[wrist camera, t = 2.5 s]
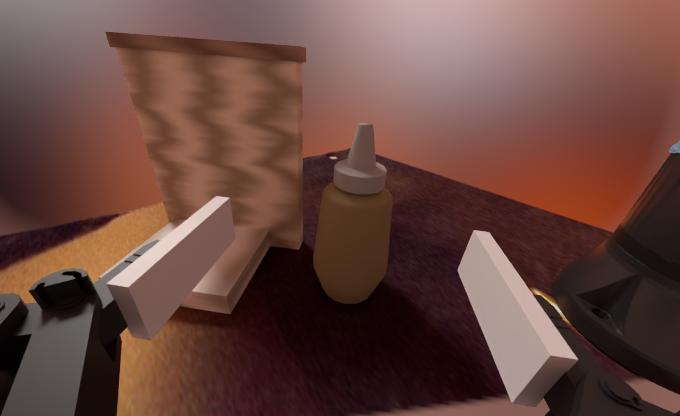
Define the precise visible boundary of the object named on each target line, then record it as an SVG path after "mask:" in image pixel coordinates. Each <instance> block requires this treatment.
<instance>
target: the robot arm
mask: <svg viewBox="0 0 680 416" xmlns="http://www.w3.org/2000/svg"><path fill="white" fill-rule="evenodd" d="M669 152H671V154H670V156H669V157H668V158H667V160H666V161H665V163H664V164H663V166H662V167H661V168H660V170H659V171H658V172H657V174H656V175H655V177H654V178H653V179H652V181H651V182H650V184H649V185H648V186H647V188H646V189H645V190H644V192H643V193H642V195H641V196H640V197H639V199H638V200H637V201H636V203H635V204H634V205H633V207H632V208H631V209H630V211H629V212H628V214H627V215H626V216H625V217H624V219H623V220H622V222H621V223H620V225H619V226H618V228H617V229H616V230H615V232H614V233H613V234H612V235H611V237H610V238H609V239H608V240H606V241H605V242H603V243H601V244H600V245H598V246H597V247H595V248H594V249H592V250H591V251H589V252H588V253H586V254H584V255H583V256H581V257H580V258H578V259H577V260H575V261H574V262H572V263H571V264H569V265H568V266H566V267H565V268H564V269H563V270H562V272H561V273H560V275H559V276H558V278H557V279H556V281H555V282H554V284H553V296H554V299H555V301H556V303H557V305H558V307H559V308H560V310H561V311H562V313H563V314H564V315H565V317H566V318H567V319H568V320H569V321H570V322H571V324H572V325H573V326H574V327H575V328H576V329H577V330H578V331H579V332H580V333H581V334H583V335H584V336H585V337H586V338H587V339H588V340H589V341H591V342H592V343H593V344H594V345H595V346H597V347H598V348H599V349H601V350H602V351H603V352H605V353H606V354H607V355H609V356H610V357H612V358H613V359H614V360H616V361H617V362H619V363H620V364H622V365H624V366H625V367H627V368H628V369H630V370H632V371H633V372H635V373H637V374H639V375H640V376H642V377H644V378H646V379H648V380H649V381H651V382H653V383H655V384H657V385H659V386H662V387H664V388H666V389H668V390H670V391H672V392H675V393H678V394H680V141H679V142H678V144H676V145H674V146H672V147H671V148H670V150H669ZM234 240H235V232H234V225H233V217H232V210H231V203H230V198H228V197H220V196H216V197H215V198H213V199H212V200H211V201H210V202H208V203H207V204H206V205H204V206H203V207H202V208H201V209H199V210H198V211H197V212H196V213H194V214H193V215H192V216H191V217H189V218H188V219H187V220H186V221H184V222H183V223H182V224H181V225H179V226H178V227H177V228H176V229H174V230H173V231H172V232H171V233H169V234H168V235H167V236H166V237H164V238H163V239H162V240H155V241H153V242H151V243H149V244H146V245H144V246H143V247H141V248H140V249H139V250H137V251H136V252H135V253H133V255H131V256H129V257H128V258H127V259H125V260H124V262H121V263H120V264H119V265H118V266H116V267H115V268H114V269H112V270H111V271H110V272H108V273H107V274H106V275H104V276H103V277H102V278H100V279H99V280H98V281H96V282H95V283H94V284H93V283H92V281H91V279H90V277H89V276H88V274H87V272H86V271H85V270H83V269H76V268H73V269H66V270H62V271H59V272H55V273H52V274H50V275H48V276H46V277H44V278H42V279H41V280H39V281H38V282H36V283H35V284H33V286H32V287H31V288H30V289H29V292H30V293H31V295H32V296H33V298H34V299H35V301H36V302H37V303H29V304H25V303H24V302H23V300H22V299H21V298H20V296H19V295H16V294H13V293H12V294H1V295H0V416H117V403H118V389H119V374H120V360H121V345H122V340H121V337H120V334H121V333H122V332H123V331H124V330H125V329H126V328H127V327H128V329H129V331H130V333H131V335H132V337H135V338H141V339H147V340H152V339H153V338H154V336H155V335H156V334H157V333H158V332H159V330H160V329H161V328H162V327H163V326H164V324H165V323H166V322H167V321H168V319H169V318H170V317H171V316H172V315H173V313H174V312H175V311H176V310H177V309H178V307H179V306H180V305H181V304H182V303H183V301H184V300H185V299H186V298H187V297H188V295H189V294H190V293H191V292H192V290H193V289H194V288H195V287H196V286H197V284H198V283H199V282H200V281H201V280H202V278H203V277H204V276H205V275H206V274H207V272H208V271H209V270H210V269H211V268H212V266H213V265H214V264H215V263H216V261H217V260H218V259H219V258H220V257H221V255H222V254H223V253H224V252H225V251H226V249H227V248H228V247H229V246H230V245H231V243H232V242H233V241H234ZM458 273H459V275H460V278H461V280H462V283H463V285H464V288H465V290H466V292H467V295H468V297H469V300H470V302H471V305H472V307H473V309H474V312H475V314H476V317H477V319H478V322H479V324H480V326H481V329H482V331H483V334H484V336H485V339H486V341H487V344H488V346H489V348H490V351H491V353H492V356H493V358H494V361H495V363H496V365H497V368H498V370H499V373H500V375H501V378H502V380H503V382H504V385H505V387H506V390H507V392H508V395H509V397H510V399H511V402H512V403H514V404H520V405H525V406H531V407H536V406H537V405H538V404H539V403H540V401H541V400H542V399H543V398H544V399H545V401H546V403H547V405H548V406H549V408H550V411H549V412H548V413H547V414H546V415H545V416H680V411H678V412H677V413H672V412H670V411H668V410H665V409H663V408H660V407H658V406H655V405H653V404H651V403H648V402H646V401H644V400H642V399H641V397H640V396H639V394H638V393H637V392H636V391H635V390H634V389H632V388H631V387H630V386H629V385H628V384H627V383H626V382H624V381H623V380H621V379H620V378H618V377H617V376H615V375H613V374H611V373H609V372H607V371H604V370H601V369H600V367H599V366H598V365H597V363H596V362H595V361H594V359H593V358H592V357H591V355H590V354H589V353H588V351H587V350H586V349H585V347H584V346H583V345H582V343H581V342H580V341H579V339H578V338H577V337H576V335H575V334H574V333H573V331H571V330H570V328H569V326H568V325H567V324H566V322H565V321H563V320H562V317H561V316H560V314H559V313H558V312H557V310H556V309H555V308H554V306H553V305H551V304H550V303H549V302H548V301H547V300H545V299H544V298H543V297H542V296H541V295H534V294H532V293H531V292H530V290H529V289H528V287H527V286H526V284H525V283H524V282H523V280H522V279H521V277H520V276H519V274H518V273H517V272H516V270H515V269H514V267H513V266H512V264H511V263H510V262H509V260H508V259H507V257H506V256H505V254H504V253H503V252H502V250H501V249H500V247H499V246H498V244H497V243H496V242H495V240H494V239H493V237H492V236H491V234H490V233H489V232H483V231H476V230H474V231H473V233H472V236H471V238H470V241H469V243H468V246H467V248H466V251H465V253H464V256H463V258H462V261H461V263H460V266H459V268H458Z"/></svg>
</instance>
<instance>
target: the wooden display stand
mask: <svg viewBox="0 0 680 416" xmlns="http://www.w3.org/2000/svg"><path fill="white" fill-rule="evenodd" d="M106 35H107V38H108V41H109V45H110V47H116V50H117V53H118V56H119V59H120V62H121V65H122V69H123V72H124V76H125V79H126V82H127V85H128V89H129V92H130V95H131V98H132V102H133V105H134V108H135V111H136V115H137V118H138V121H139V125H140V128H141V131H142V134H143V137H144V141H145V144H146V147H147V150H148V154H149V157H150V160H151V163H152V167H153V170H154V173H155V176H156V180H157V183H158V186H159V190H160V193H161V196H162V199H163V203H164V206H165V209H166V212H167V216H168V219H169V222H170V223H169V224H167V225H166V226H165V227H163V228H162V229H161V230H159V231H158V232H157V233H156V234H154V235H153V236H152V237H150V238H149V239H148V240H146V241H145V242H144V243H142V244H141V245H140V246H138V247H137V248H136V249H134V250H133V251H132V252H131V253H129V254H128V255H127V256H125V257H124V258H123V259H121V260H120V261H119V262H117V263H116V264H115V265H113V266H112V267H111V268H110V269H108V270H107V271H106V272H104V273H103V274H102V275H100V276H99V277H98V278H99V279H100V278H102V277H103V276H104V275H106V274H107V273H108V272H110V271H111V270H112V269H114V268H115V267H116V266H118V265H119V264H120V263H121V262H124V260H125V259H127V258H128V257H129V256H131V255H133V253H135V252H136V251H137V250H139V249H140V248H141V247H143V246H144V245H146V244H149V243H151V242H153V241H155V240H162V239H163V238H164V237H166V236H167V235H168V234H169V233H171V232H172V231H173V230H174V229H176V228H177V227H178V226H179V225H181V224H182V223H183V222H184V221H186V220H187V219H188V218H189V217H191V216H192V215H193V214H194V213H196V212H197V211H198V210H199V209H201V208H202V207H203V206H204V205H206V204H207V203H208V202H210V201H211V200H212V199H213V198H215V197H216V196H220V197H228V198H230V203H231V210H232V217H233V225H234V232H235V240H234V241H233V242H232V243H231V245H230V246H229V247H228V248H227V249H226V251H225V252H224V253H223V254H222V255H221V257H220V258H219V259H218V260H217V261H216V263H215V264H214V265H213V266H212V268H211V269H210V270H209V271H208V272H207V274H206V275H205V276H204V277H203V278H202V280H201V281H200V282H199V283H198V284H197V286H196V287H195V288H194V289H193V290H192V292H191V293H190V294H189V295H188V297H187V298H186V299H185V300H184V301H183V303H182V304H181V305H180V306H181V307H187V308H194V309H200V310H207V311H213V312H220V313H226V314H231V312H232V310H233V309H234V307H235V305H236V304H237V302H238V300H239V298H240V297H241V295H242V293H243V292H244V290H245V288H246V286H247V285H248V283H249V281H250V280H251V278H252V276H253V275H254V273H255V271H256V269H257V268H258V266H259V264H260V263H261V261H262V259H263V257H264V256H265V254H266V252H267V251H268V249H269V247H270V246H275V247H282V248H290V249H297V250H299V249H300V246H301V244H302V242H303V154H302V62H306V48H303V47H300V46H287V45H274V44H261V43H248V42H234V41H221V40H208V39H194V38H179V37H167V36H154V35H140V34H127V33H114V32H106Z"/></svg>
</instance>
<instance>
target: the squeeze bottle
mask: <svg viewBox="0 0 680 416" xmlns="http://www.w3.org/2000/svg"><path fill="white" fill-rule="evenodd" d="M386 174H387V170H386V168H385V167H384V166H383V165H381V164H379V163H377V162H376V158H375V145H374V132H373V125H372V124H369V123H359V124H358V127H357V130H356V134H355V137H354V140H353V143H352V146H351V150H350V153H349V156H348V159H346V160H342V161H339V162H337V164H336V165H335V166H334V182H332V183H331V184H329V185H327V187H326V188H325V189H324V190H323V195H322V202H321V208H320V215H319V222H318V228H317V235H316V241H315V248H314V255H313V264H314V269H315V271H316V273H317V276H318V278H319V281H320V283H321V285H322V288H323V289H324V291H325V293H326V294H327V296H329V297H330V298H332V299H333V300H335V301H337V302H340V303H344V304H357V303H359V302H362V301H364V300H366V299H367V298H368V297H369V296H370V294H371V293H372V292H373V291H374V289H375V288H376V287H377V285H378V284H379V283H380V281H381V280H382V279H383V277H384V276H385V275H386V269H387V263H388V250H389V238H390V225H391V212H392V199H393V197H392V196H391V194H390V193H389V191H388V190H387V189H386V188H385V187H384V186H385V180H386Z"/></svg>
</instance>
